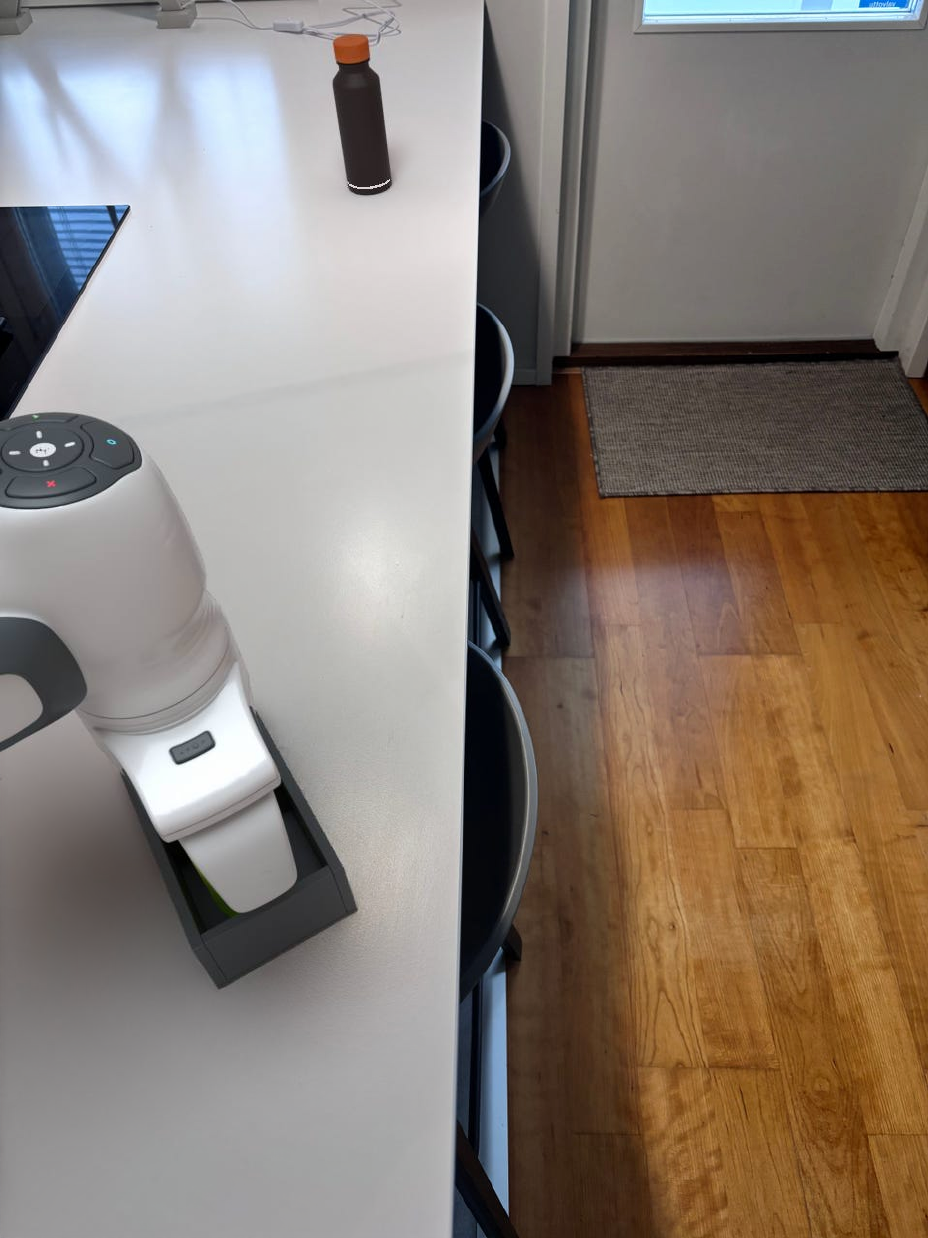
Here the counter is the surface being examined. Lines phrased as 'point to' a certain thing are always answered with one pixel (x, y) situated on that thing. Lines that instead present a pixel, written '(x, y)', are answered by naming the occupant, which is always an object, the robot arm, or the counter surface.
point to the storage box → (274, 925)
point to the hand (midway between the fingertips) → (228, 813)
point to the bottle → (360, 116)
